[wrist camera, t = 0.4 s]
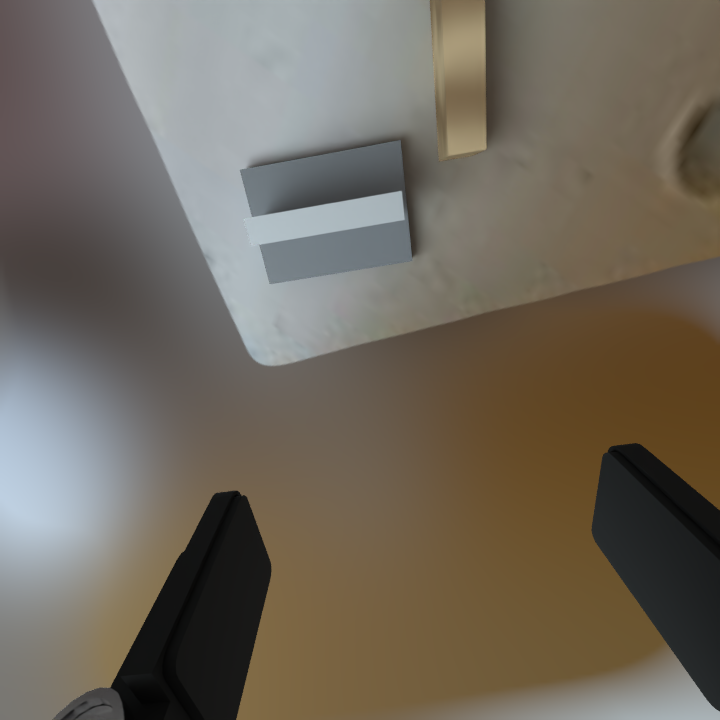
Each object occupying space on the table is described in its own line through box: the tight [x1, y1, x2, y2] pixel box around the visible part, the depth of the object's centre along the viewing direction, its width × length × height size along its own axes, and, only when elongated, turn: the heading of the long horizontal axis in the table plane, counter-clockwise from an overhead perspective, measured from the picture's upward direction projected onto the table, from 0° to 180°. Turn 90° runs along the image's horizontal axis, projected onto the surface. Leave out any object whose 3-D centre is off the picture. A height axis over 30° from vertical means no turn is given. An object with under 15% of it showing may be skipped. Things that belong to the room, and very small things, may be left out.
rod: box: [430, 0, 486, 162], centre depth 26 cm, size 20×3×4 cm, turn 9°
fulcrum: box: [240, 140, 412, 284], centre depth 30 cm, size 10×14×8 cm
